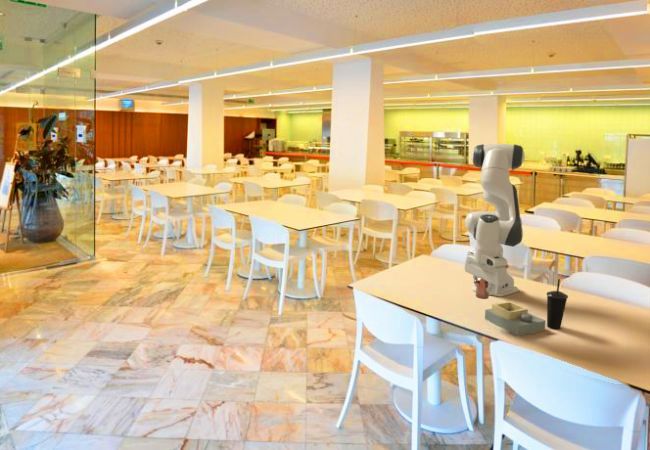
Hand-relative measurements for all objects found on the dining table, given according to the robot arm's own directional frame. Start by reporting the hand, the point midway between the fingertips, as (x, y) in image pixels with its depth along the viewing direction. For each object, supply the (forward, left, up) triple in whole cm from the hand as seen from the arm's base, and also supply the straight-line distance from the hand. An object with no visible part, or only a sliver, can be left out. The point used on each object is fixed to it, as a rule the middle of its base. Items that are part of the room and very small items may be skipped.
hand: (482, 289), depth 191 cm
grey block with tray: (-12, +7, -14) cm, 20 cm away
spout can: (0, 0, -3) cm, 3 cm away
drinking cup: (-25, +15, -15) cm, 32 cm away
